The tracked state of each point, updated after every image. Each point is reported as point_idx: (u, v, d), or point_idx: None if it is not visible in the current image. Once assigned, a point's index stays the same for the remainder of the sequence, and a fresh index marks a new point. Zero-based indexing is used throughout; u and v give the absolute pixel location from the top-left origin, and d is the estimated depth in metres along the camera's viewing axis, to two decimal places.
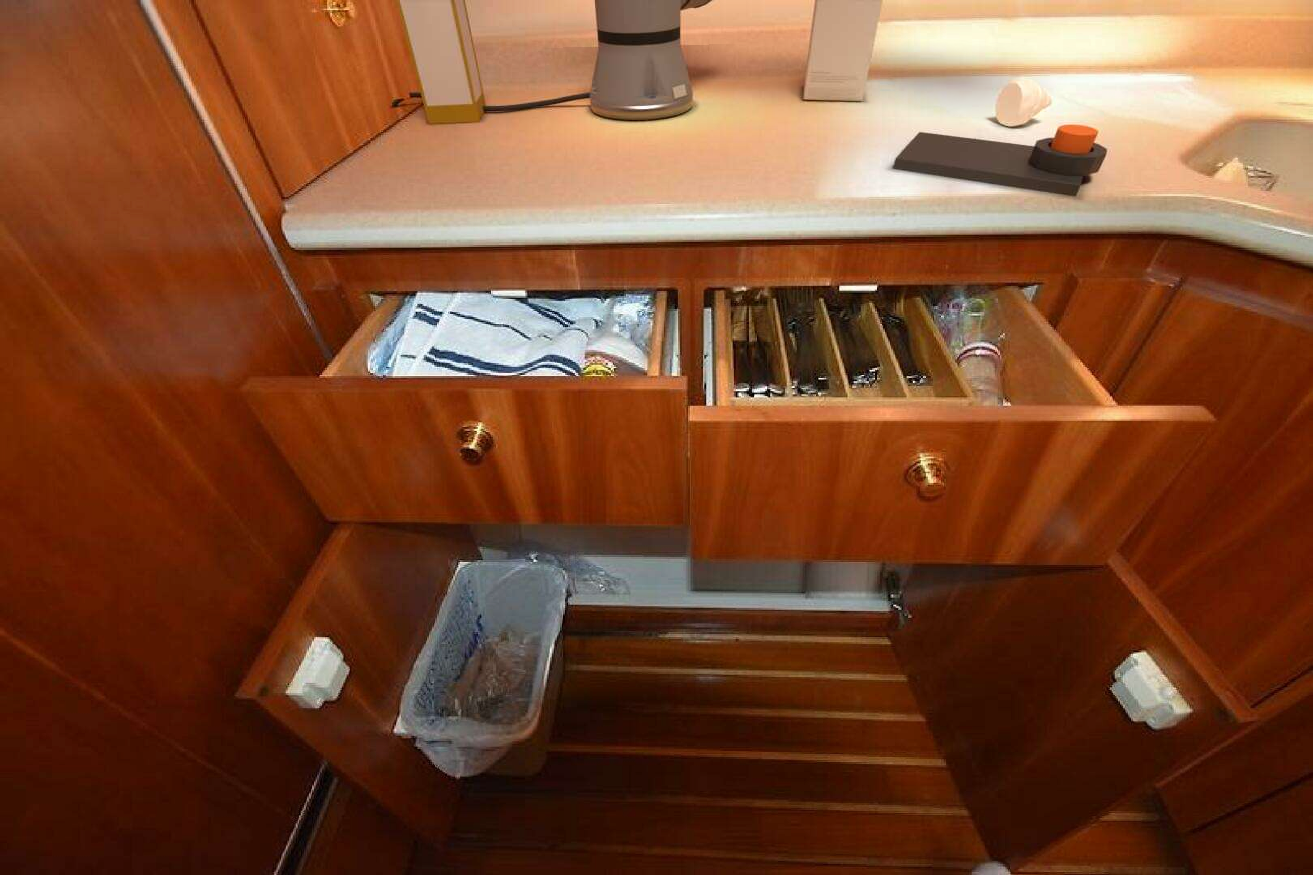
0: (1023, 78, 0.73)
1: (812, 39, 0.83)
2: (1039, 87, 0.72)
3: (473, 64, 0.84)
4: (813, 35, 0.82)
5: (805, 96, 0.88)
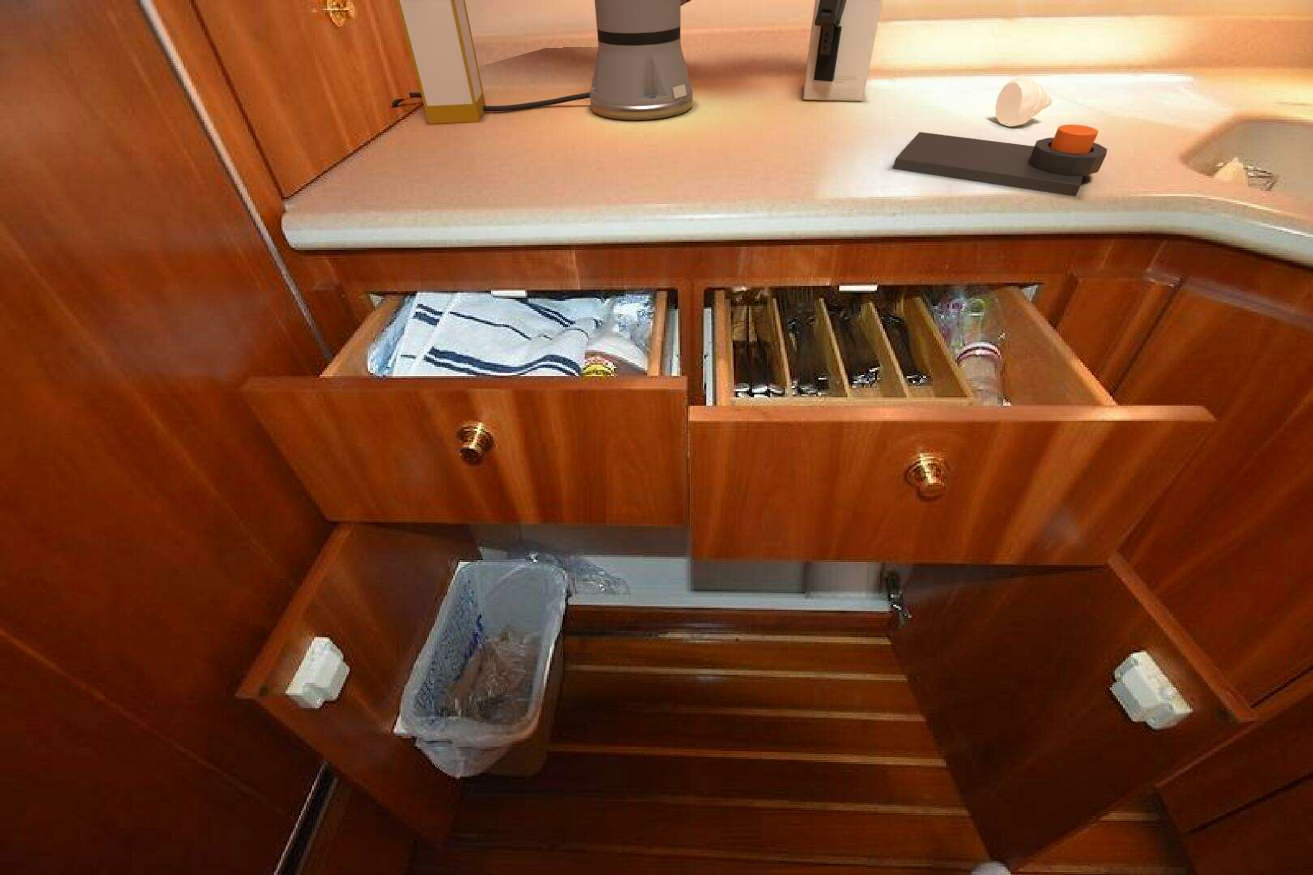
0: (1023, 78, 0.73)
1: (812, 39, 0.83)
2: (1039, 87, 0.72)
3: (473, 64, 0.84)
4: (813, 35, 0.82)
5: (805, 96, 0.88)
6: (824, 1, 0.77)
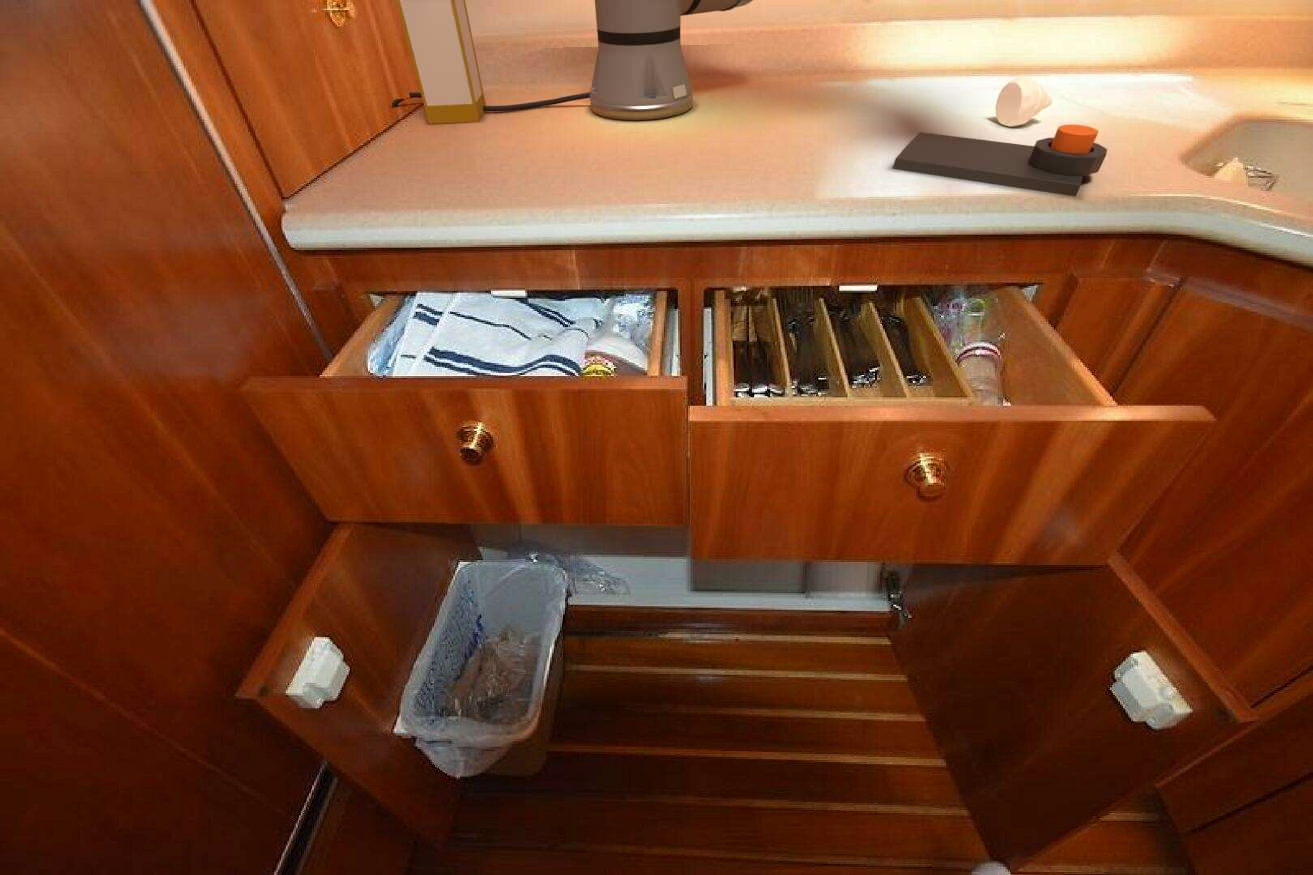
0: (1023, 78, 0.73)
1: None
2: (1039, 87, 0.72)
3: (473, 64, 0.84)
4: None
5: None
6: None
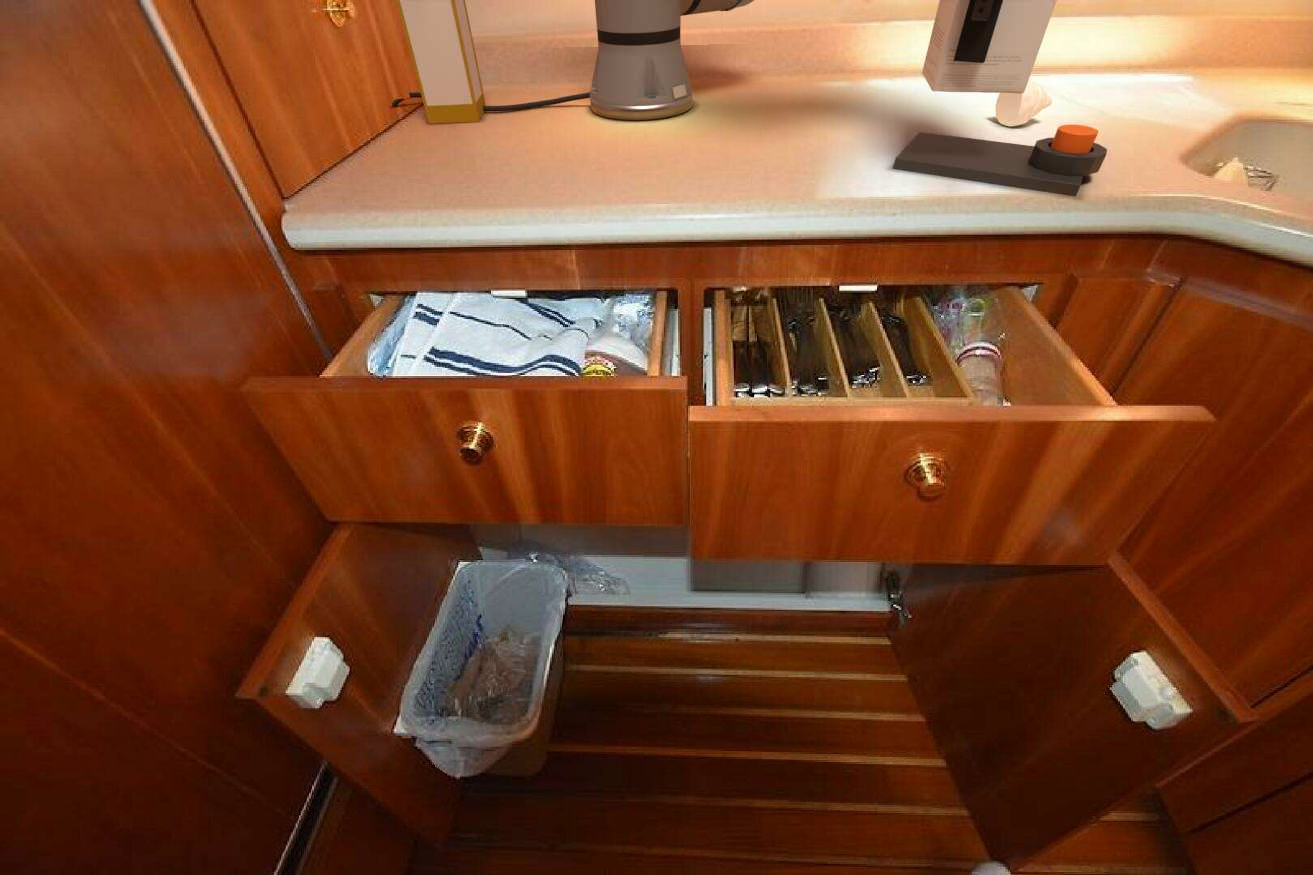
0: None
1: None
2: (1039, 87, 0.72)
3: (473, 64, 0.84)
4: None
5: (936, 86, 0.59)
6: None
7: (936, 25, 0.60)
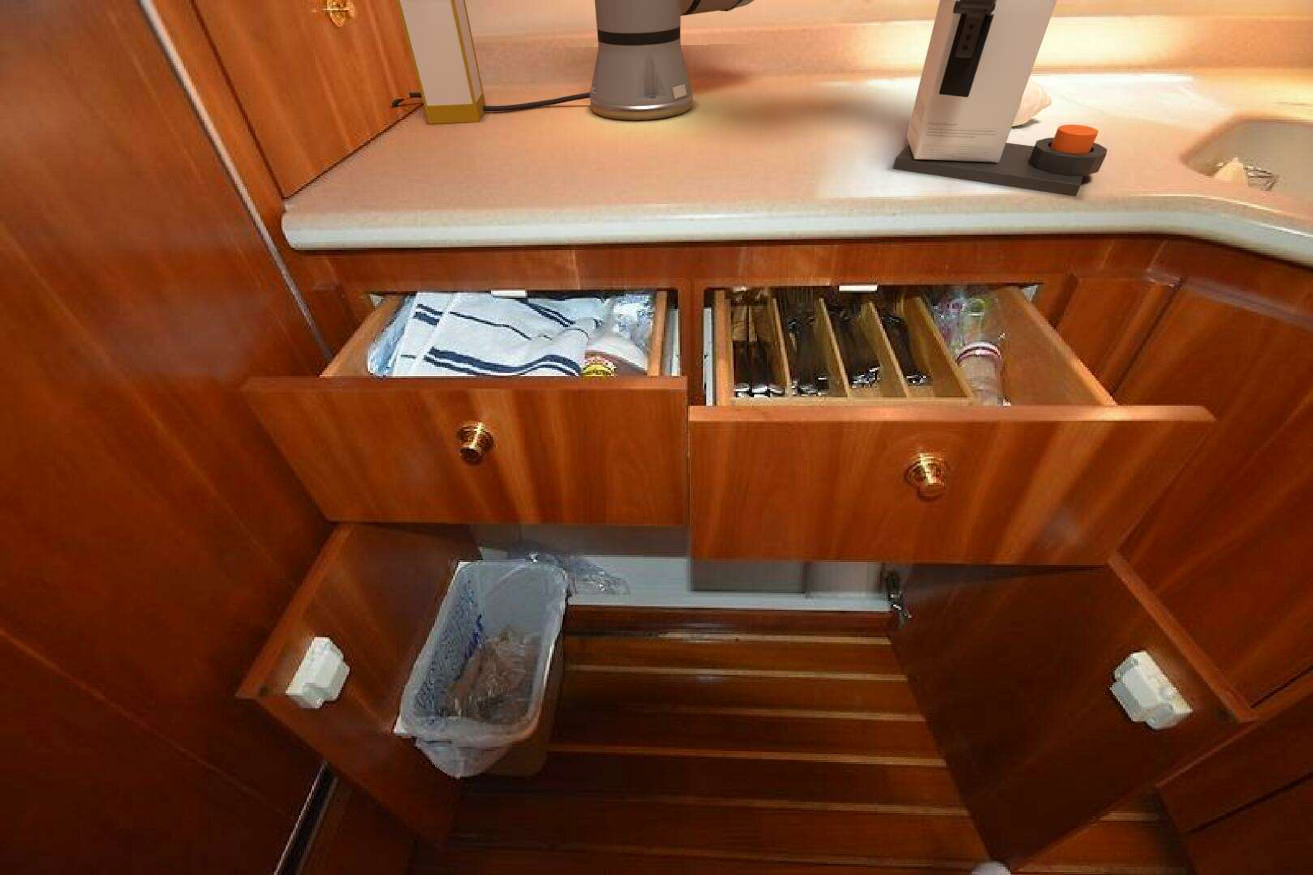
0: None
1: (936, 79, 0.59)
2: (1039, 87, 0.72)
3: (473, 64, 0.84)
4: (938, 74, 0.58)
5: (917, 155, 0.63)
6: None
7: (919, 96, 0.65)
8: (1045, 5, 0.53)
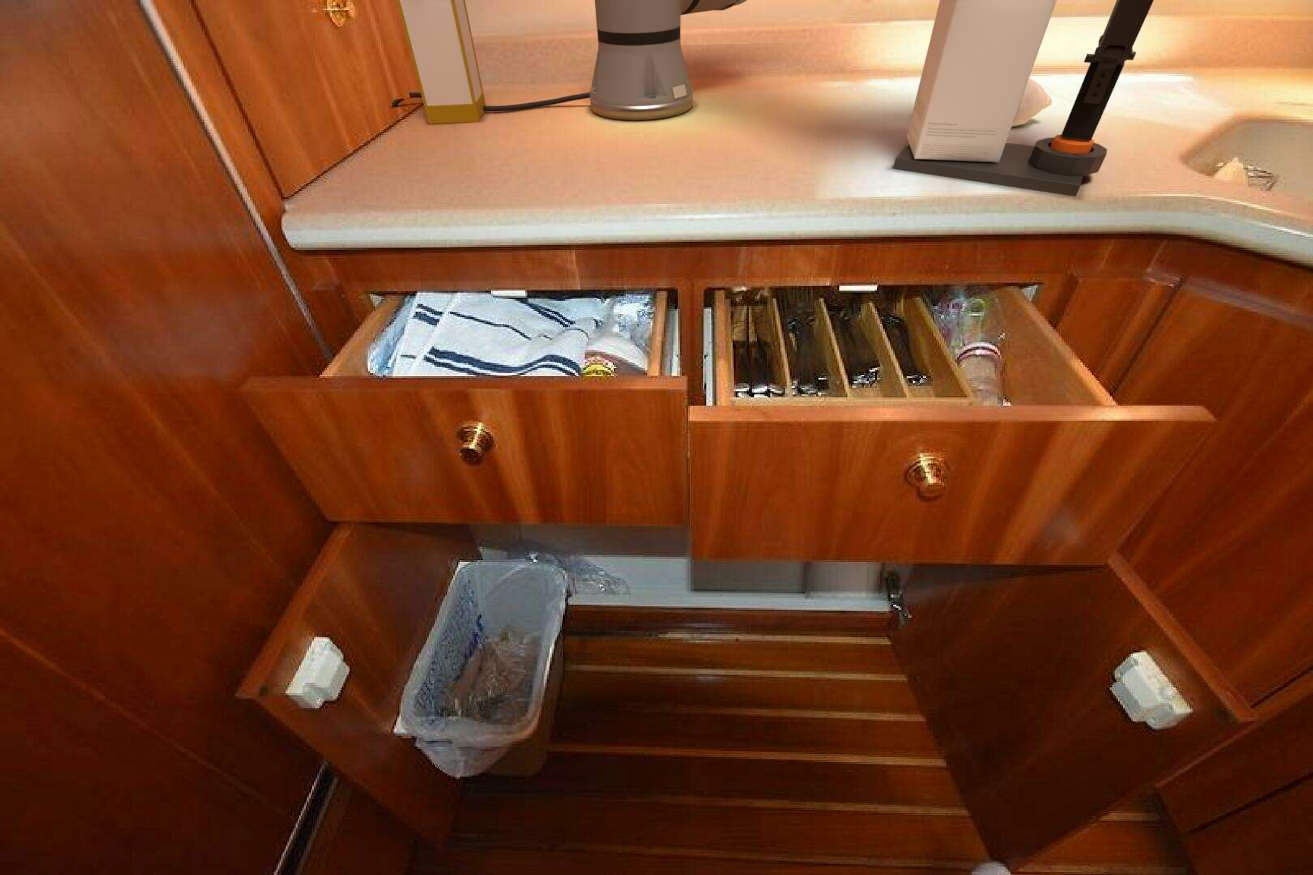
0: None
1: (936, 79, 0.59)
2: (1039, 87, 0.72)
3: (473, 64, 0.84)
4: (938, 73, 0.58)
5: (917, 155, 0.63)
6: (1114, 34, 0.51)
7: (919, 96, 0.65)
8: (1045, 5, 0.53)
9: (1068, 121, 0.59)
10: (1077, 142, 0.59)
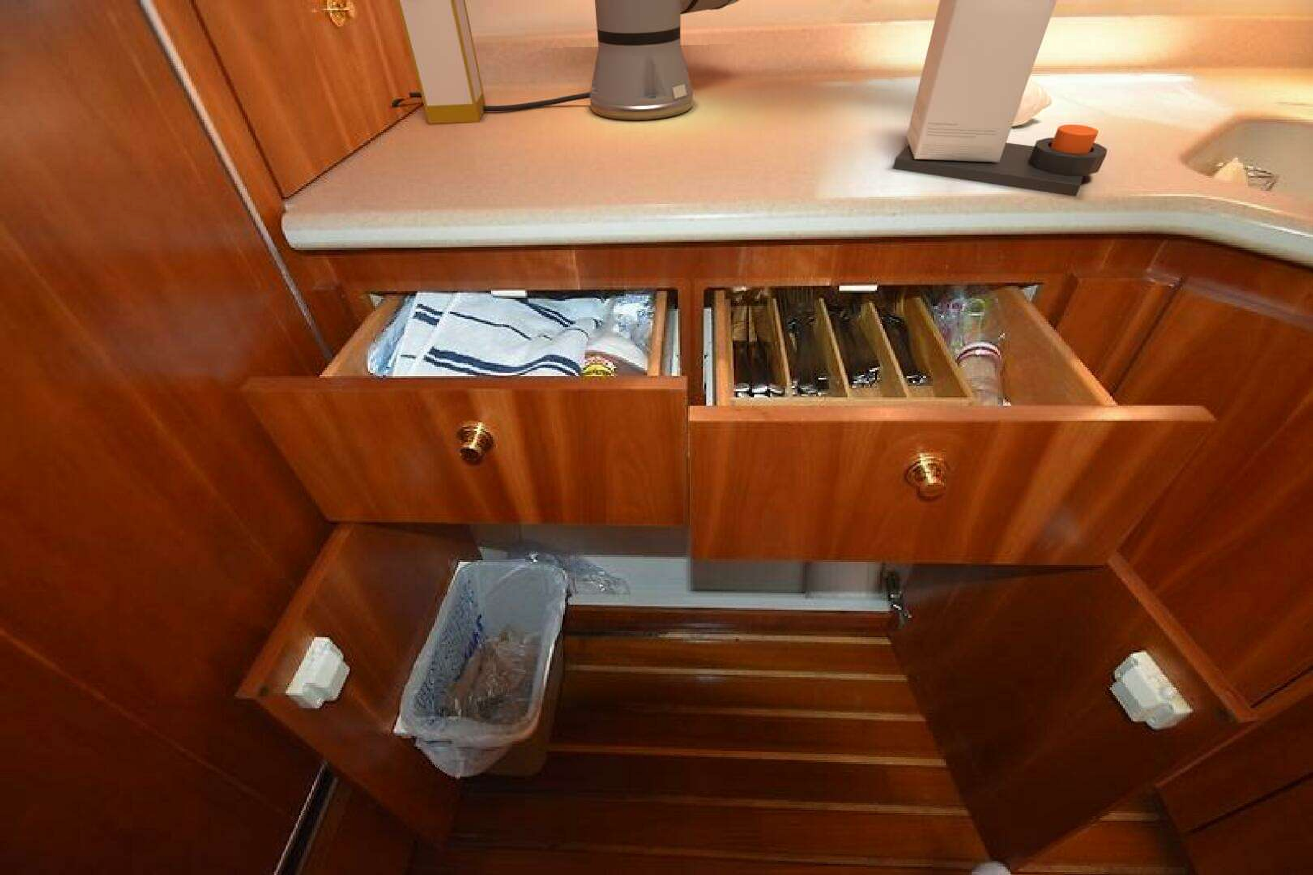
0: None
1: (936, 79, 0.59)
2: (1039, 87, 0.72)
3: (473, 64, 0.84)
4: (938, 73, 0.58)
5: (917, 155, 0.63)
6: None
7: (919, 96, 0.65)
8: (1045, 5, 0.53)
9: None
10: (1081, 132, 0.59)
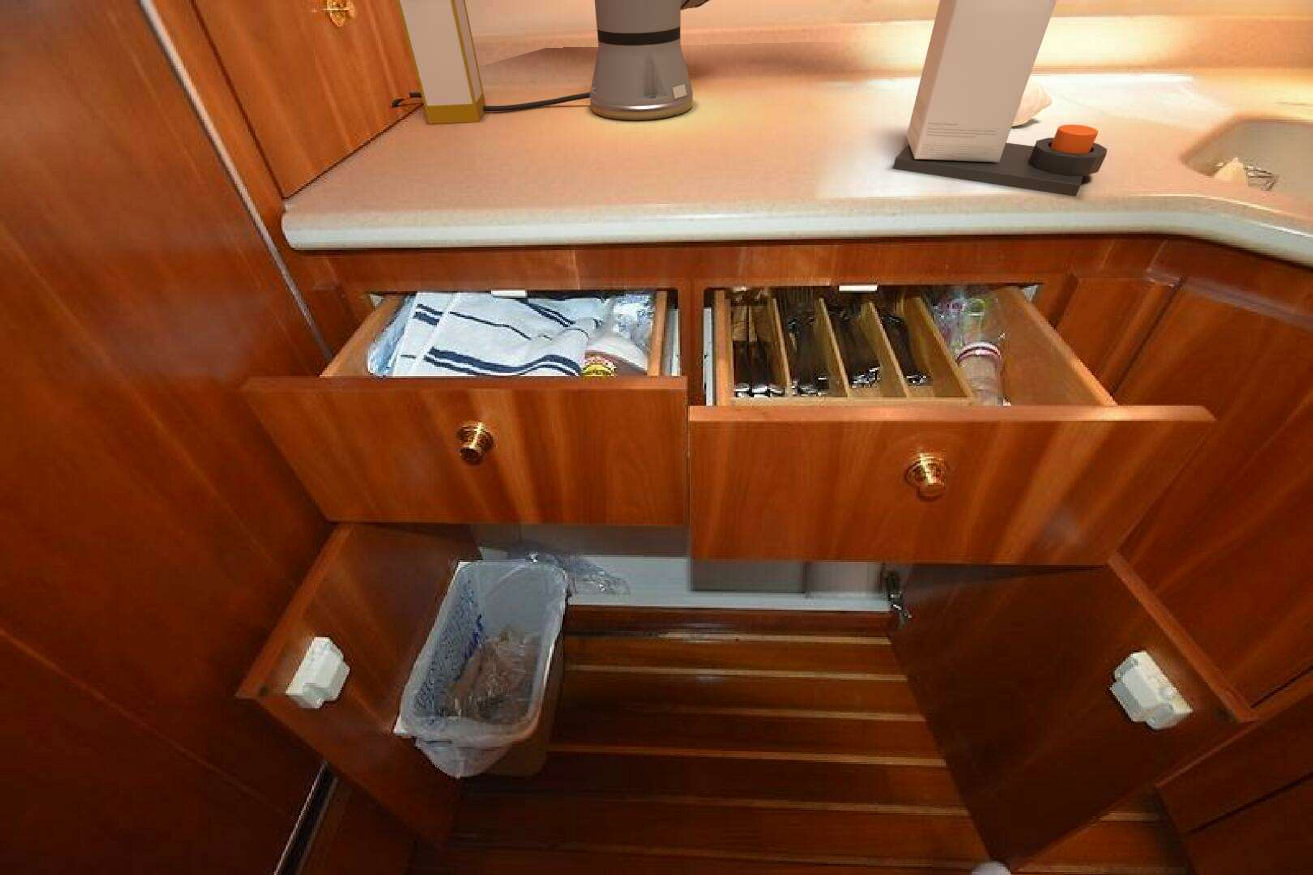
0: None
1: (936, 79, 0.59)
2: (1039, 87, 0.72)
3: (473, 64, 0.84)
4: (938, 73, 0.58)
5: (917, 155, 0.63)
6: None
7: (919, 96, 0.65)
8: (1045, 5, 0.53)
9: None
10: (1081, 132, 0.59)
